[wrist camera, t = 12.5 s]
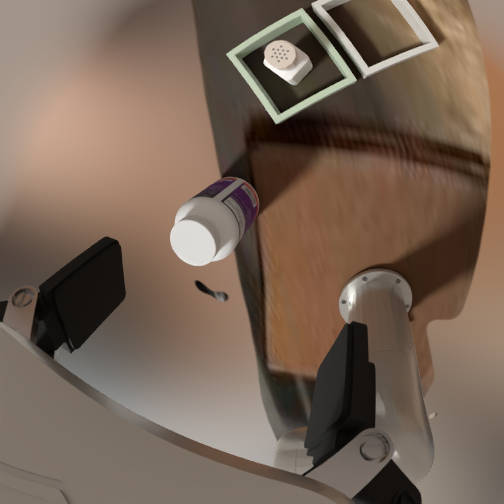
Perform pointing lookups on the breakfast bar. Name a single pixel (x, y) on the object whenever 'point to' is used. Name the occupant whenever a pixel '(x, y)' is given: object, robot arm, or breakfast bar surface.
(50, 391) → the robot arm
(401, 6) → the grey bin
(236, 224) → the pill bottle
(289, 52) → the pepper shaker
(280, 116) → the green bin
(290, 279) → the breakfast bar surface
